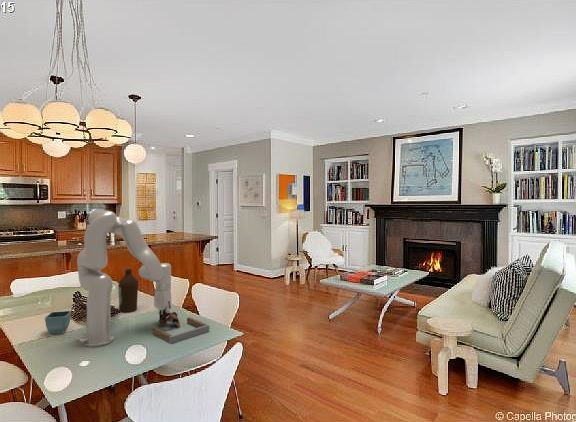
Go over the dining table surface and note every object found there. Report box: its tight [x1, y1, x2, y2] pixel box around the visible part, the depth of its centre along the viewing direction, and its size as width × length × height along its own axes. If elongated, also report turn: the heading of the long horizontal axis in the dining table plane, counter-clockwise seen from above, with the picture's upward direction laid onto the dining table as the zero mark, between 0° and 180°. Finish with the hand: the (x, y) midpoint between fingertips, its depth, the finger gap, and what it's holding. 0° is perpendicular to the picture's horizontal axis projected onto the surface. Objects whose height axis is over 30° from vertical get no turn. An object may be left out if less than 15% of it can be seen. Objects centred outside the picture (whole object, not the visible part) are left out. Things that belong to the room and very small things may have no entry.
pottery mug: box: [158, 311, 181, 329], centre depth 179 cm, size 12×10×8 cm
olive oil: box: [117, 267, 139, 314], centre depth 202 cm, size 11×11×25 cm
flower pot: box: [44, 310, 72, 335], centre depth 167 cm, size 9×9×9 cm
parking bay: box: [151, 316, 210, 344], centre depth 171 cm, size 21×18×3 cm
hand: (162, 321), depth 183 cm, fingers closed
